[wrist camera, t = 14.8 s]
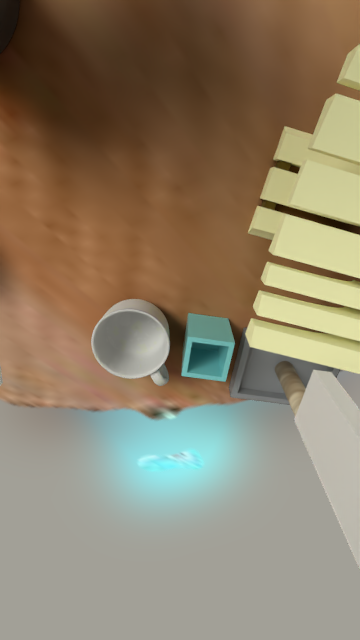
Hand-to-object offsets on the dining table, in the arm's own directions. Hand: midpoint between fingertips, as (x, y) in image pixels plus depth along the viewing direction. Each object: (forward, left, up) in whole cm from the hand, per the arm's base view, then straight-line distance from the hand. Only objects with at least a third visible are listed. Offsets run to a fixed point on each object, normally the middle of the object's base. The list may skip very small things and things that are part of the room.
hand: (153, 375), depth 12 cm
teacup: (-4, -15, -33) cm, 36 cm away
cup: (+6, -14, -33) cm, 36 cm away
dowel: (+20, -18, -32) cm, 42 cm away
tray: (+20, -18, -33) cm, 42 cm away
